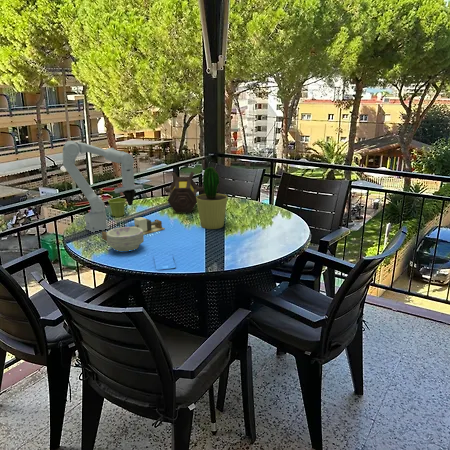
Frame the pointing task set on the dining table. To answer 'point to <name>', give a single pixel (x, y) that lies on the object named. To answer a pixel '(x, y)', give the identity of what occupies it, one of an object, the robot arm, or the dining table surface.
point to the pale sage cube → (141, 223)
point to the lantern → (183, 193)
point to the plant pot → (117, 206)
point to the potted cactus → (211, 201)
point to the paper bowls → (125, 238)
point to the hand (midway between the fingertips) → (130, 204)
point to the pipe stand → (155, 227)
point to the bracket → (149, 224)
